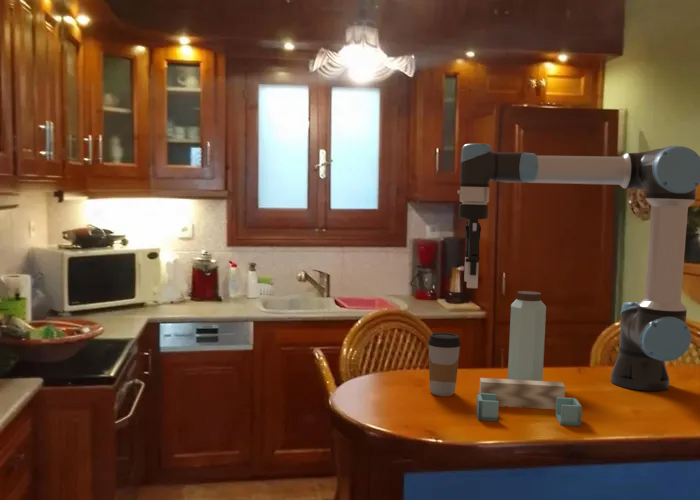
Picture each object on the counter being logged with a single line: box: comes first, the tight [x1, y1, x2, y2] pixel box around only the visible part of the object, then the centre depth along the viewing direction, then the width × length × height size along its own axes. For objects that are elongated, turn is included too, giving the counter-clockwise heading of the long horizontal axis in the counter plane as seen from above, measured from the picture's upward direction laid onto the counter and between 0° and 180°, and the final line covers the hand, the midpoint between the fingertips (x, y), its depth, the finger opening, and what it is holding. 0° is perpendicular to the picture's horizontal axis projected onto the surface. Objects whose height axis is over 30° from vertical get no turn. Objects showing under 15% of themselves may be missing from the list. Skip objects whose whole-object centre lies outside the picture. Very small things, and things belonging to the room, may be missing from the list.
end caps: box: [475, 392, 583, 427], centre depth 167 cm, size 23×7×4 cm, turn 84°
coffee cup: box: [427, 332, 461, 397], centre depth 186 cm, size 8×8×15 cm
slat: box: [478, 377, 566, 410], centre depth 178 cm, size 20×4×6 cm, turn 84°
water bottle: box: [507, 290, 547, 381], centre depth 198 cm, size 10×10×25 cm
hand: (470, 284), depth 190 cm, fingers open, 13 cm apart
